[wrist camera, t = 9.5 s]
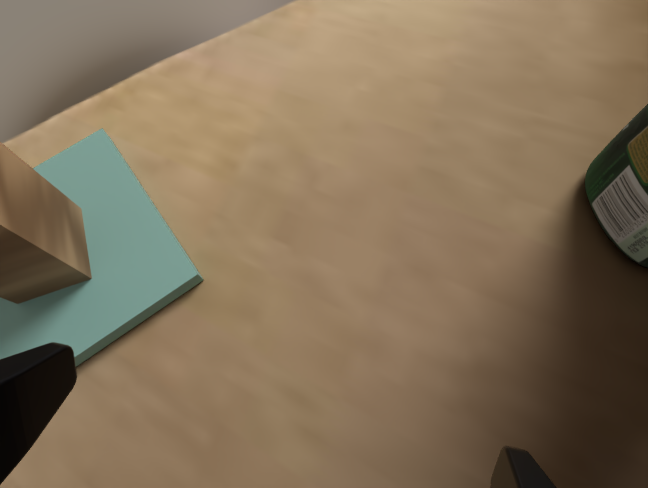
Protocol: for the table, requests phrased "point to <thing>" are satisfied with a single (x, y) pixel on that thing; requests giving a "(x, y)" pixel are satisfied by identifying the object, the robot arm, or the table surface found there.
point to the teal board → (102, 258)
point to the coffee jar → (623, 189)
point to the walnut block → (37, 234)
